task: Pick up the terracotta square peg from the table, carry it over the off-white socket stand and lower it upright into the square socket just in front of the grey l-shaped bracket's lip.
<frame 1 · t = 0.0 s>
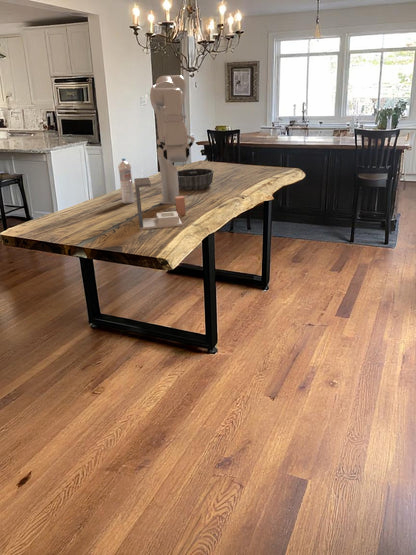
hand: (176, 158, 211), 31 cm above the table, tool pointing down, fingers open, 9 cm apart
water bottle: (128, 203, 268), on the table
grey l-shaped bracket: (144, 202, 221), point 11 cm above the table
peg: (180, 214, 240), on the table
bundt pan: (193, 188, 297), on the table
socket stand: (159, 223, 227), on the table
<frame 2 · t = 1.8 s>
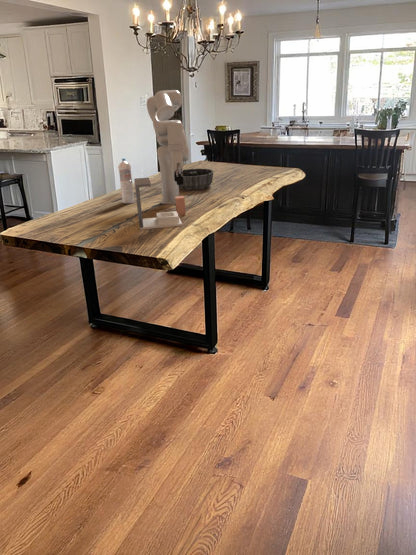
hand: (178, 182, 233), 16 cm above the table, tool pointing down, fingers open, 9 cm apart
nothing on the table moved.
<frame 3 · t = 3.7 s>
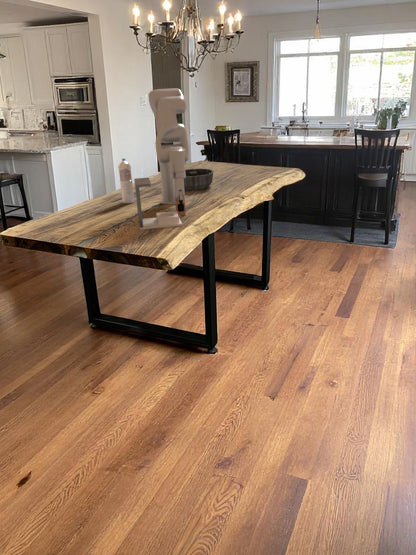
hand: (180, 209, 239), 2 cm above the table, tool pointing down, fingers closed on peg, 4 cm apart
peg: (180, 214, 240), on the table, touching gripper
everything else where it was.
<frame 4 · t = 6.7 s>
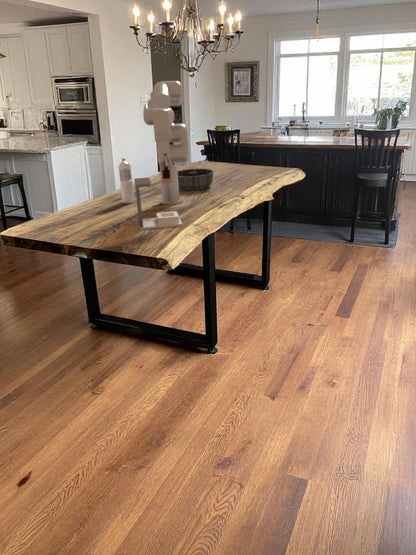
hand: (166, 177, 220), 22 cm above the table, tool pointing down, fingers closed on peg, 4 cm apart
peg: (166, 182, 221), point 20 cm above the table, touching gripper
everything else where it was.
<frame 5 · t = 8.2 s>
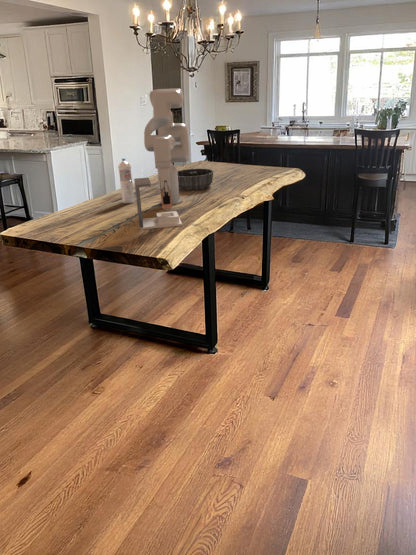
hand: (166, 202, 223), 10 cm above the table, tool pointing down, fingers closed on peg, 4 cm apart
peg: (166, 207, 224), point 8 cm above the table, touching gripper
everything else where it was.
when the fingers open (5 cm above the table, at t = 9.6 s): peg drops 2 cm, resting on socket stand.
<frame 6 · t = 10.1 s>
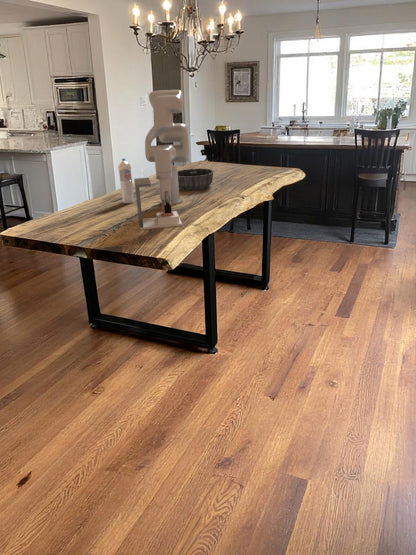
hand: (167, 210, 225), 6 cm above the table, tool pointing down, fingers open, 9 cm apart
peg: (167, 220, 227), point 1 cm above the table, touching socket stand
everything else where it was.
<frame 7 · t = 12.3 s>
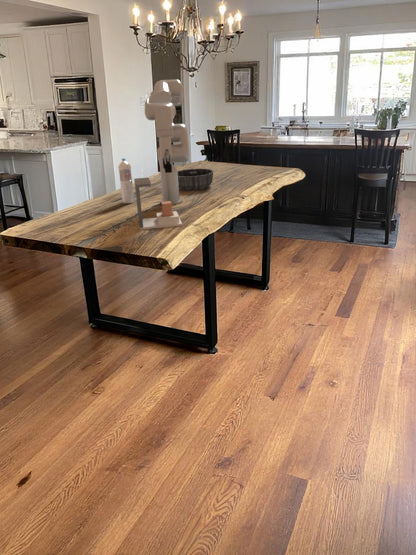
hand: (167, 170, 220), 25 cm above the table, tool pointing down, fingers open, 9 cm apart
nothing on the table moved.
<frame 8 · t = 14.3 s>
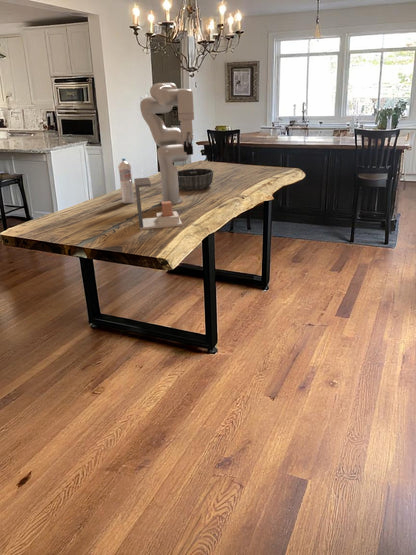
hand: (188, 153, 230), 30 cm above the table, tool pointing down, fingers open, 9 cm apart
nothing on the table moved.
at the end: peg 0.1 cm from the target spot on the socket stand, point 1.0 cm above the socket stand's base; peg tilted 0°; the gripper is holding nothing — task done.
